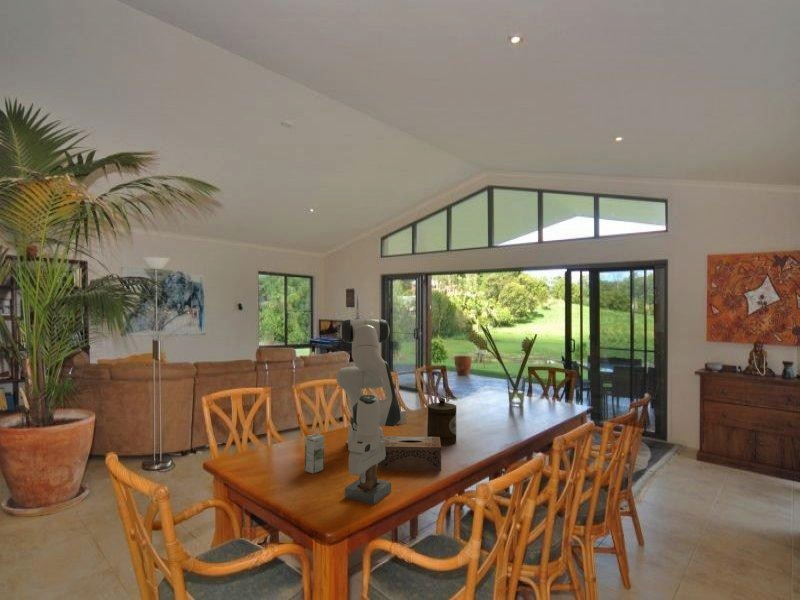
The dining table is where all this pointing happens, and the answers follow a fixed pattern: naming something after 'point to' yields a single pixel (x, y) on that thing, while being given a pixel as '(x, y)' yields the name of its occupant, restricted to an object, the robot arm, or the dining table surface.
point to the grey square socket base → (368, 492)
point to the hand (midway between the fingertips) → (368, 479)
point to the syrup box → (314, 453)
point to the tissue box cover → (412, 453)
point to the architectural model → (402, 418)
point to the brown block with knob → (370, 478)
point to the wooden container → (442, 422)
